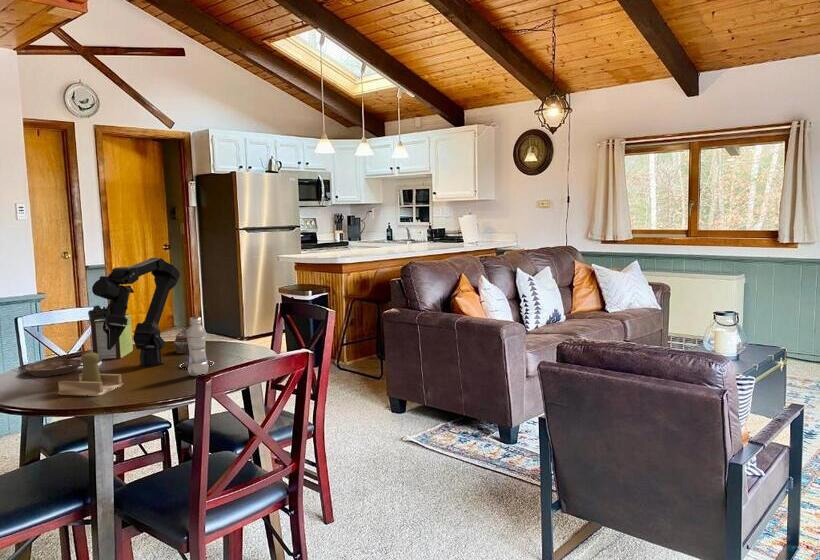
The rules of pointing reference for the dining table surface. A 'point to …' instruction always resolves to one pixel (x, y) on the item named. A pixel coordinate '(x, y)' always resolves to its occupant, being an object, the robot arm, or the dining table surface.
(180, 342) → the cupcake
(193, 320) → the plastic bottle
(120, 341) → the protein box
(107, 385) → the cradle
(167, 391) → the dining table surface
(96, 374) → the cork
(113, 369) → the dining table surface
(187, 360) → the patterned bowl
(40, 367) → the plant saucer
